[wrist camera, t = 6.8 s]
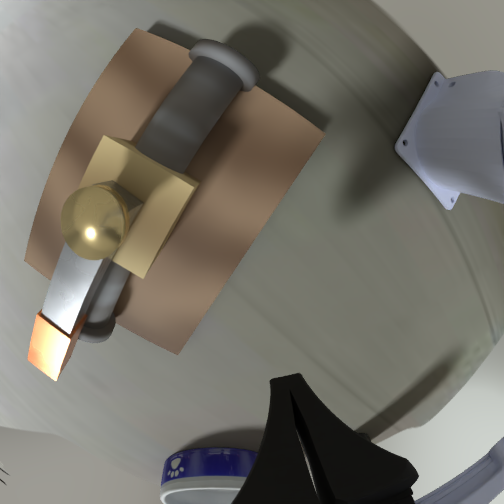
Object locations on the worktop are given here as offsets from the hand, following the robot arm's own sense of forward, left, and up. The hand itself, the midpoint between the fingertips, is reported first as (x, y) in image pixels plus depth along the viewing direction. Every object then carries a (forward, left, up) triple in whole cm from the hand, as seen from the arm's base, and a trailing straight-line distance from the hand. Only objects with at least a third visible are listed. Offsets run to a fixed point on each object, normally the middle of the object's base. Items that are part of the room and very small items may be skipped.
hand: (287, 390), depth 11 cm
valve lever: (+2, -11, -3) cm, 11 cm away
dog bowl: (+25, +11, -9) cm, 29 cm away
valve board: (-3, -10, -9) cm, 14 cm away
